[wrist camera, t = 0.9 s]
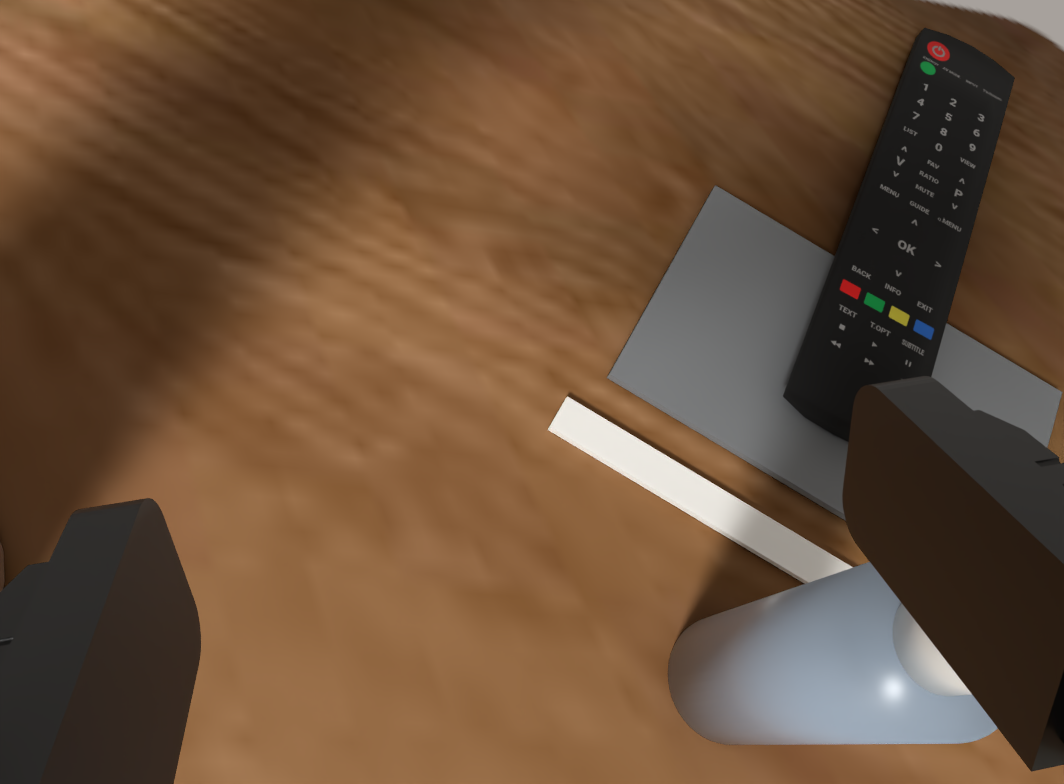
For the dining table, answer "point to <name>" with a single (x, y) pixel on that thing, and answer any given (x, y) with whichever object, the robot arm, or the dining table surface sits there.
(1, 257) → the dining table surface
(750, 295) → the mat
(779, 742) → the slim bottle
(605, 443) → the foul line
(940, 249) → the remote control
